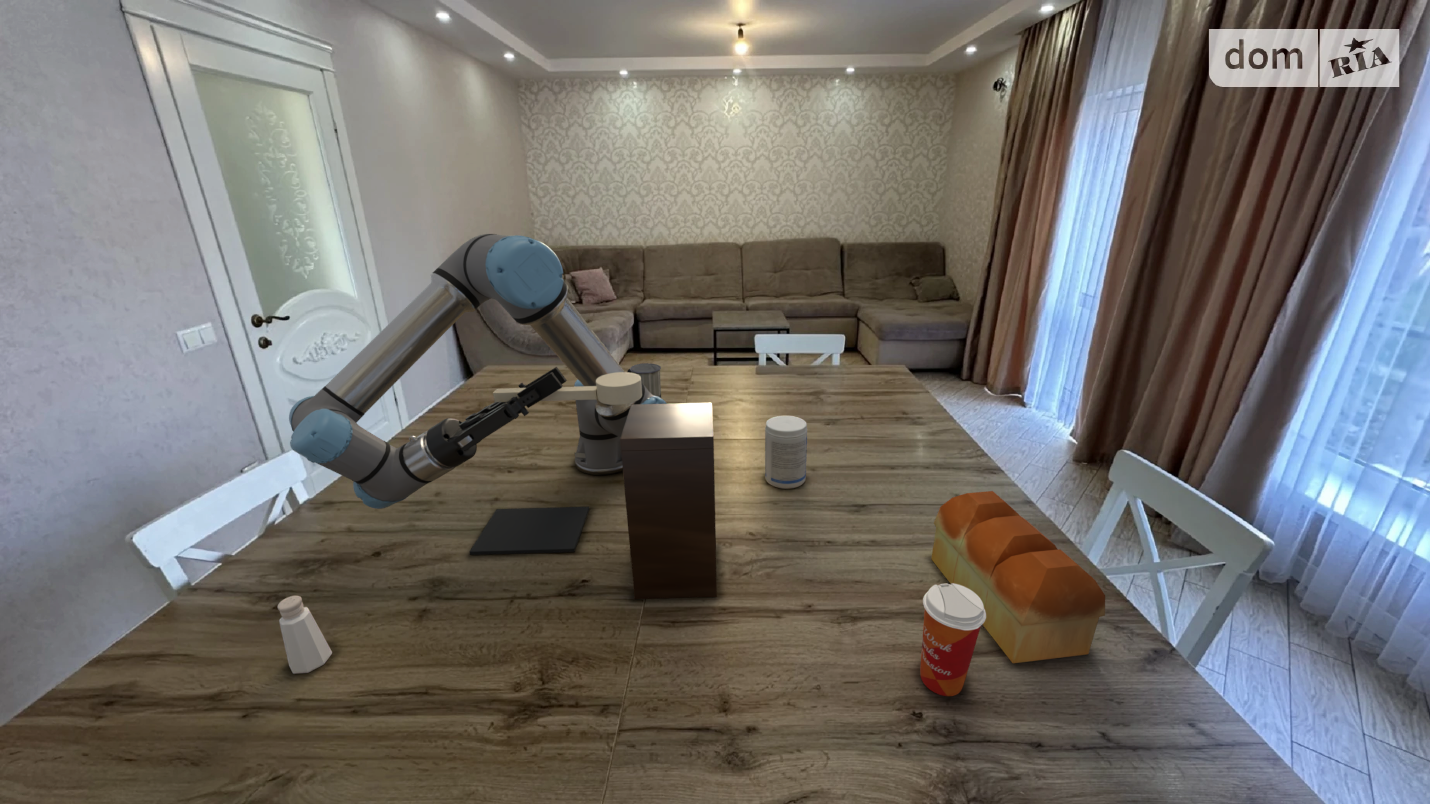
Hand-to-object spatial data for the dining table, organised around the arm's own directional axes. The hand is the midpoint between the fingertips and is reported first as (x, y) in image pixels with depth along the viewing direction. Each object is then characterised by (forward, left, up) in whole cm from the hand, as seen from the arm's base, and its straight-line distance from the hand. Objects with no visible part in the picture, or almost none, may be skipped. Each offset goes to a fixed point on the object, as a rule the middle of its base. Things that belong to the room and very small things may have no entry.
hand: (558, 377), depth 86 cm
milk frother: (-74, +1, -38) cm, 83 cm away
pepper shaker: (+18, -37, -38) cm, 56 cm away
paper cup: (+25, +55, -38) cm, 71 cm away
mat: (-14, -13, -38) cm, 42 cm away
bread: (+10, +71, -38) cm, 81 cm away
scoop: (0, +1, -4) cm, 4 cm away
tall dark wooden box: (0, +17, -38) cm, 41 cm away
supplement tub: (-32, +41, -38) cm, 64 cm away
